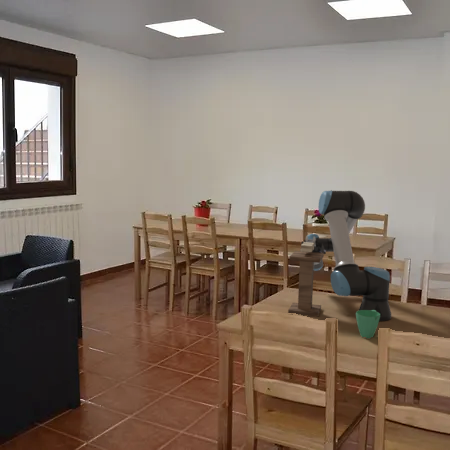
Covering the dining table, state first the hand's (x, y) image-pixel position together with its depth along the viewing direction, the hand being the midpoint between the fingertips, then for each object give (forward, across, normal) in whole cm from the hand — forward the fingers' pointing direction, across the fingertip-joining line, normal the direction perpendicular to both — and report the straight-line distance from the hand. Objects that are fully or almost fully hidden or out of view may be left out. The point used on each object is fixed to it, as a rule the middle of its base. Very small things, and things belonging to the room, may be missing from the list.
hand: (310, 238), depth 271 cm
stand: (-8, 0, -35) cm, 36 cm away
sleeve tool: (+1, 0, -5) cm, 5 cm away
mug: (+14, -30, -48) cm, 59 cm away
